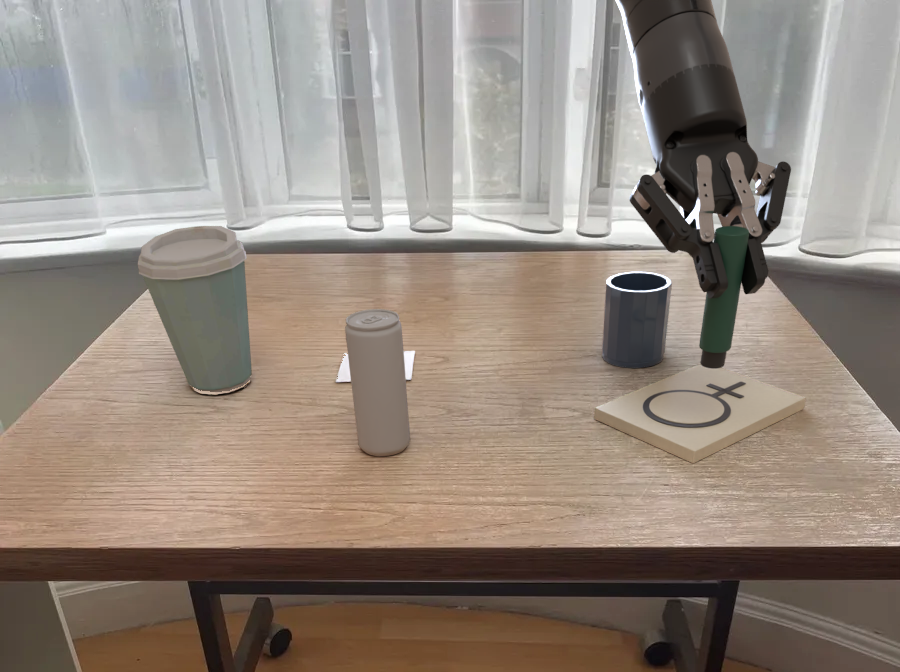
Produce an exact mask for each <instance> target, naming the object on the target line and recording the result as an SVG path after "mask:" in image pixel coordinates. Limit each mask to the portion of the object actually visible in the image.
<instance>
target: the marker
mask: <svg viewBox="0 0 900 672" xmlns="http://www.w3.org/2000/svg"><path fill="white" fill-rule="evenodd" d="M714 233H715V237H714V239H713V243H718V244H719V248H720V252H721V256H722V260H723V264H724V268H725V271H726V275H727V279H728V288H727V290H726V291H725V292H724V293H723V294H722V295H721V296H720V297H719V298H712V299H710V298H709V297H708V295H707V292H705V293H706V294H705V301H704V308H703V314H702V315H703V316H702V322H701V330H700V337H699V338H700V339H699V344H698V347H699V349H700V350H701V354H700V355H701V357H700V362H699V364H701V365H702V366H703V367H706V368H711V369H717V368H724V366H725V364H726V357H727V352H729V351H730V350H731V349H732V343H733V336H734V331H735V325H736V318H737V313H738V306H739V299H740V294H741V288H742V287H741V286H742V282H741V281H742V275H743V269H744V263H745V257H746V250H747V244H748V238H749V230H748V229H746V228H743V227H738V226H724V227H722V226H720V227H717V228H715V229H714Z"/></svg>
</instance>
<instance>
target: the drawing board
mask: <svg viewBox="0 0 900 672" xmlns="http://www.w3.org/2000/svg"><path fill="white" fill-rule="evenodd" d="M806 400H807V397H806V396H803V395H800V394H797V393H795V392H792V391H789V390H786V389H783V388H780V387H778V386H775V385H772V384H769V383H767V382H763V381H761V380H758V379H756V378H752V377H749V376H747V375H743V374H741V373H738V372H736V371H732V370H730V369H727V368H724V367H721V368H717V369H711V368H706V367H703V366H702V365H701V363H698V364H696V365H693V366H692V367H691V366H690V367H689V368H687V369H684V370H681V371H680V372H676V373H675V374H672V375H670V376H667V377H665V378H663V379H660V380H658V381H655V382H653V383H650V384H648V385H646V386H644V387H640V388H638V389H636V390H634V391H631V392H628V393H627V394H625V395H622V396H619V397H617V398H614V399H611V400H609V401H608V402H605V403H602V404H600V405H597V406H595V407H594V410H593V411H594V414H593V420H596V421H598V422H600V423H602V424H605V425H606V426H609V427H611V428H613V429H615V430H618V431H620V432H622V433H624V434H627V435H629V436H631V437H634V438H636V439H638V440H639V441H643V442H644V443H646V444H649V445H651V446H653V447H656V448H657V449H660V450H662V451H664V452H667V453H669V454H671V455H674V456H676V457H678V458H680V459H682V460H684V461H687V462H688V463H691V464H696V463H697V462H699V461H702V460H703V459H705V458H707V457H709V456H712V455H714V454H715V453H717V452H719V451H722V450H723V449H726V448H728V447H730V446H731V445H733V444H736V443H737V442H740V441H742V440H744V439H746V438H748V437H750V436H752V435H754V434H756V433H758V432H761V431H762V430H764V429H766V428H768V427H770V426H772V425H774V424H776V423H778V422H781V421H782V420H784V419H786V418H788V417H790V416H792V415H795V414H797V413H799V412H800V411H803V410H804V409H805V405H806Z"/></svg>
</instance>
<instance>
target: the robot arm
mask: <svg viewBox="0 0 900 672" xmlns="http://www.w3.org/2000/svg"><path fill="white" fill-rule="evenodd" d="M712 1H713V0H615V2H616V4H617V7H618V9H619V11H620V15H621V17H622V22H623V27H624V32H625V36H626V40H627V44H628V45H627V46H628V49H629V52H630V57H631V60H632V65H633V71H634V72H633V74H634V82H635V84H634V85H635V91H636V94H637V101H638V104H639V105H638V106H639V107H640V111H641V114H642V119H643V123H644V126H645V130H646V135H647V138H648V143H649V146H650V151H651V155H652V159H653V161H654V164H655V169H654V173H653V174H652V175H650V174H643V175H641V177H640V178H639V180H638V182H637V183H636V185H635V186H634V188H633V190H632V192H631V194H630V195H629V197H628V198H629V199H628V200H629V203H630V204H631V206H632V207H633V208H634V209H635V211H636V212H637V213H638V214H639V216H640V217H641V218H642V220H643V221H644V222H645V224H646V225H647V227H649V229H650V230H651V231H652V232H653V234H654V235H655V236H656V238H657V239H658V240H659V242H660V243H661V244H662V245H663V247H664V248H665V249H666V250H667V252H669V253H671V254H674V253H677V252H679V251H680V252H684V253H687V254H688V255H689V256H690V257H691V258H692V260H693V264H694V265H693V266H694V269H695V273H696V277H697V280H698V284H699V288H700V289H701V290H702V292H703V293H707V295H708V297H709V298H710V299H712V298H719V297H720V296H721V295H722V294H723V293H724V292H725V291H726V290H727V288H728V279H727V275H726V271H725V268H724V264H723V260H722V256H721V252H720V248H719V244H718V243H713V242H714V237H715V225H714V218H713V217H714V214H716V215H717V217H718V220H719V222H720V225H721V227H724V226H738V227H743V228H746V229H748V230H749V238H748V244H747V250H746V257H745V263H744V269H743V275H742V281H741V286H742V290H743V293H744V294H745V295H751V294H756V293H757V292H758V291H759V290H760V289H761V288H762V287H763V286H764V285H765V282H766V280H767V278H769V277H768V276H769V268H768V264H767V260H766V256H765V251H764V247H763V245H762V244H763V243H764V242H765V241H766V240H767V239H768V237H769V236H770V235H771V234H772V233H773V232H774V230H776V229H777V228H778V227H779V226H780V225H781V223H782V217H783V212H784V207H785V204H786V203H785V202H786V196H787V194H788V193H787V192H788V187H789V182H790V176H791V174H792V173H791V172H792V168H791V165H790V164H789V162H786V161H780V162H778V163H777V165H776V166H773V165H770V164H767V163H764V162H761V161H759V157H758V154H757V153H756V150H754V149H753V148H752V147H751V145H750V144H749V141H748V123H747V122H748V121H747V117H746V113H745V109H744V106H743V102H742V98H741V94H740V91H739V90H740V89H739V87H738V84H737V80H736V75H735V72H734V69H733V65H732V61H731V56H730V53H729V49H728V46H727V44H726V41H725V39H724V37H723V34H722V32H721V30H720V27H719V24H718V21H717V17H716V13H715V9H714V6H713V5H714V4H713V2H712ZM752 180H753V181H754V183H755V195H756V196H757V197H759V200H758V205H757V207H756V198H755V196H754V193H753V191H752V189H751V186H750V184H751V182H752ZM671 199H672V200H671ZM673 201H674V202H675V203H676V204H677V205H678V206H679V209H678V208H677V207H676V205H675V203H673ZM755 207H756V208H757V209H755ZM679 210H680V211H679Z"/></svg>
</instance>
